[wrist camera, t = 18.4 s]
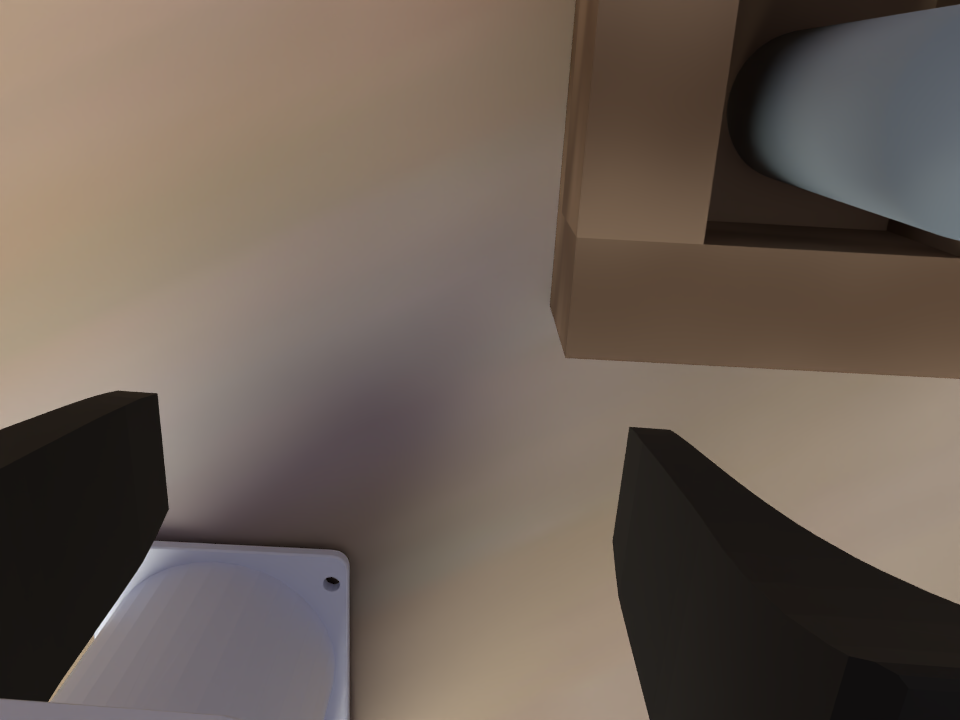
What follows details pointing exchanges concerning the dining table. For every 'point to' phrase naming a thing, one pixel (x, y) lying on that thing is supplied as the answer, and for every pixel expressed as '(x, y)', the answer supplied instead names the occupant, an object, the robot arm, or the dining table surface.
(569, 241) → the pocket block
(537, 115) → the dining table surface
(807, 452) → the dining table surface
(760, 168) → the dowel
